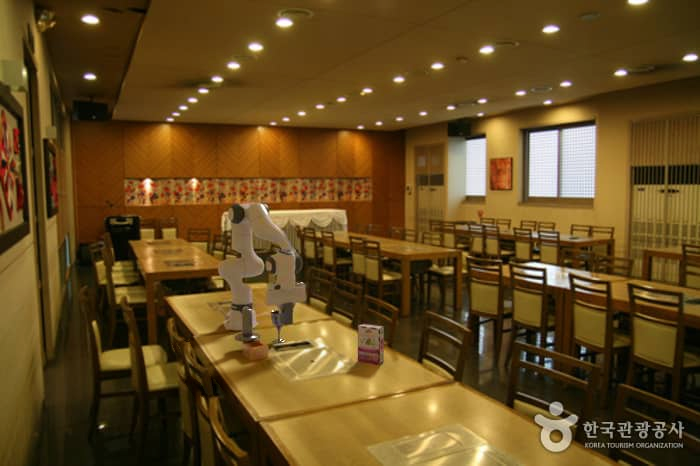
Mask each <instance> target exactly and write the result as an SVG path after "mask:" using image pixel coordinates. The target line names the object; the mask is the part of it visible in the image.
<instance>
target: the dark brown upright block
mask: <svg viewBox="0 0 700 466" xmlns="http://www.w3.org/2000/svg"><path fill="white" fill-rule="evenodd" d="M280 308H281V309H282V310H283V313H282V314H280V323H282V324H284V325H283V326H289V325H293V324H294V309H293V303H287V304H281V307H280Z"/></svg>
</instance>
